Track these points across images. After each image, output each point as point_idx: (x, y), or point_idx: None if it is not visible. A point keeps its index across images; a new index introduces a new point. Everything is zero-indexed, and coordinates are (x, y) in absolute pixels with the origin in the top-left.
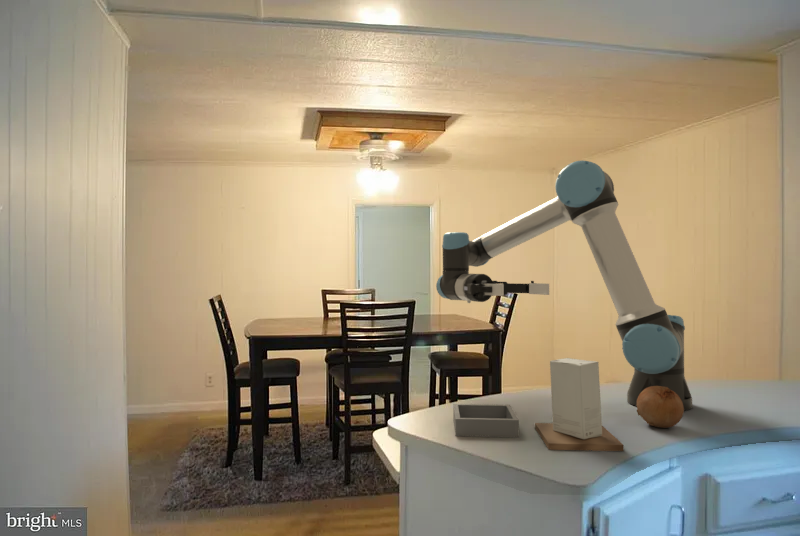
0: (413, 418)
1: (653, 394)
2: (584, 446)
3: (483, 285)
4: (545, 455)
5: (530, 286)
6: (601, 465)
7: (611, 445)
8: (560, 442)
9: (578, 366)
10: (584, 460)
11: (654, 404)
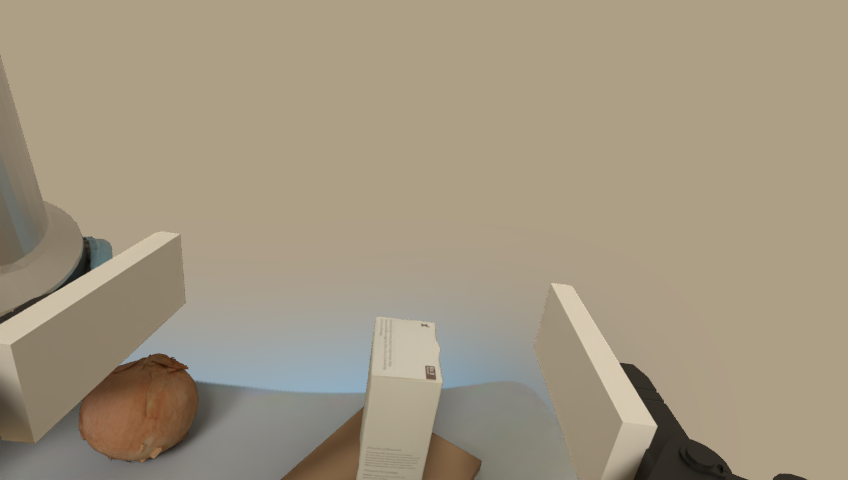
0: None
1: (177, 379)
2: None
3: (662, 452)
4: (502, 456)
5: (39, 361)
6: (451, 396)
7: None
8: (458, 453)
9: (435, 328)
10: (459, 415)
11: (194, 389)
